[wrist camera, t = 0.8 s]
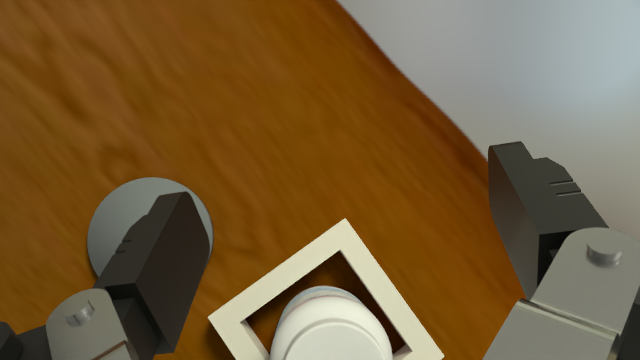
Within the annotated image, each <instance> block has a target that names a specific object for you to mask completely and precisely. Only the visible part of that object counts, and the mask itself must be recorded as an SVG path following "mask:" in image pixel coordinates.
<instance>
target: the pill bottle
mask: <svg viewBox="0 0 640 360" xmlns="http://www.w3.org/2000/svg"><path fill="white" fill-rule="evenodd" d="M270 360H393V356H392V349H391V345H390V342H389V339H388V336H387V334H386V332H385V330H384V328H383V327H382V325H381V324H380V322H379V321H378V319H377V318H376V317H375V316H374V315H373V314H372V313H371V312H370V311H369V310H368V309H367V308H366V307H365V306H364V305H363V304H362V302H361V301H360V300H359V299H357V298H356V297H355V296H354V295H352V294H351V293H349V292H347V291H345V290H343V289H340V288H337V287H332V286H316V287H312V288H308V289H306V290H304V291H302V292H300V293H299V294H297V295H296V296H295V297H294V298H293V299H292V300H291V301H290V302H289V303H288V305H287V306H286V307H285V309H284V311H283V313H282V315H281V318H280V320H279V323H278V326H277V329H276V333H275V336H274V339H273V342H272V347H271V353H270Z"/></svg>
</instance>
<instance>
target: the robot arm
mask: <svg viewBox="0 0 640 360" xmlns="http://www.w3.org/2000/svg"><path fill="white" fill-rule="evenodd" d="M488 172H489V202H490V208H491V213H492V217H493V220H494V223H495V225H496V227H497V230H498V232H499V234H500V237H501V239H502V241H503V244H504V246H505V248H506V251H507V253H508V256H509V258H510V260H511V263H512V265H513V267H514V270H515V272H516V274H517V277H518V279H519V281H520V284H521V286H522V288H523V291H524V293H525V296H526V298H527V300H526V299H520V300H519V301H517V303H516V304H515V305H514V307H513V309H512V310H511V312H510V314H509V315H508V317H507V319H506V320H505V322H504V324H503V325H502V327H501V329H500V331H499V332H498V334H497V336H496V337H495V339H494V341H493V342H492V344H491V346H490V347H489V349H488V351H487V353H486V354H485V356H484V358H483V359H482V360H640V241H638V240H637V239H635V238H634V237H632V236H630V235H628V234H626V233H623V232H621V231H618V230H614V229H609V227H608V226H607V225H606V223H605V222H604V220H603V219H602V218H601V216H600V215H599V214H598V212H596V210H595V209H594V207H593V206H592V204H591V203H590V202H589V200H588V199H587V198H586V196H585V195H584V194H583V193H581V190H580V188H579V187H578V186H577V184H576V183H575V182H573V179H572V178H571V176H570V175H569V174H568V172H567V171H566V169H565V168H564V167H563V166H561V165H559V164H557V163H556V162H554V161H552V160H550V159H548V158H547V157H546V158H539V159H533V158H532V157H531V155H530V153H529V152H528V150H527V149H526V147H525V146H524V144H523V143H522V142H521V141H519V142H512V143H506V144H499V145H492V146H489V149H488ZM209 254H210V242H209V237H208V234H207V231H206V229H205V227H204V224H203V222H202V220H201V217H200V215H199V212H198V210H197V208H196V205H195V203H194V201H193V198H192V196H191V195H190V194H189V193H188V192H187V191H183V192H177V193H170V194H164V195H159V196H158V197H157V199H156V200H155V202H154V204H153V206H152V207H151V209H150V211H149V212H148V214H147V215H143V216H142V217H141V218H140V219H139V220H138V221H137V222H136V223H135V224H133V225H132V226H131V227H130V228H129V230H128V231H127V233H126V235H125V236H124V238H123V239H122V243H121V244H119V246H118V247H117V249H116V251H115V254H114V255H112V257H111V259H110V260H109V262H108V263H107V265H106V267H105V268H104V270H103V272H102V273H101V275H100V276H99V278H98V280H97V281H96V283H95V284H94V286H93V288H92V289H88V290H85V291H82V292H79V293H77V294H75V295H73V296H71V297H69V298H68V299H66V300H65V301H63V302H62V303H61V304H60V305H59V306H58V307H57V308H56V309H55V310H54V311H53V312H52V313H51V315H50V316H49V318H48V320H47V323H46V325H44V326H41V327H38V328H35V329H33V330H30V331H27V332H24V333H21V334H19V335H16V334H15V332H14V331H13V330H12V329H11V327H10V326H9V325H8V324H7V323H5V322H0V360H153V357H154V355H155V354H164V353H174V350H175V348H176V345H177V342H178V340H179V337H180V334H181V331H182V329H183V326H184V323H185V320H186V318H187V315H188V312H189V310H190V307H191V304H192V301H193V299H194V296H195V293H196V290H197V288H198V285H199V282H200V280H201V277H202V274H203V271H204V269H205V266H206V263H207V260H208V258H209Z"/></svg>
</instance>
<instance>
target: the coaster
mask: <svg viewBox="0 0 640 360" xmlns="http://www.w3.org/2000/svg"><path fill="white" fill-rule="evenodd" d="M183 191H187V192H188V193H189V194H190V195H191V196H192V198H193V201H194V203H195V205H196V208H197V210H198V212H199V215H200V217H201V220H202V222H203V224H204V227H205V229H206V231H207V234H208V237H209V242H210V254H209V258H208V260H207V263H206V265H207V264H208V261H209V259H210V256H211V252H212V249H213V241H214V232H213V225H212V221H211V218H210V215H209V213H208V210H207V209H206V207H205V205H204V204H203V202H202V201H201V200H200V199H199V197H198V196H197V195H196V194H195V193H193V192H192V191H191V190H189V189H188V188H187V187H185V186H183V185H181V184H179V183H177V182H174V181H172V180H168V179H164V178H156V177H151V178H141V179H137V180H133V181H130V182H128V183H125V184H123V185H121V186H120V187H118V188H116V189H115V190H114V191H112V192H111V193H110V194H109V195H108V196H107V197H106V198H105V199H104V200H103V201H102V202H101V204H100V205H99V206H98V208H97V210H96V211H95V213H94V215H93V218H92V220H91V223H90V226H89V231H88V240H87V246H88V254H89V258H90V261H91V264H92V266H93V269H94V270H95V272H96V274H97V276H98V277H99V276H100V275H101V273H102V272H103V270H104V268H105V267H106V265H107V263H108V262H109V260H110V259H111V257H112V255H114V254H115V251H116V249H117V247H118V246H119V244H121V243H122V239H123V238H124V236H125V235H126V233H127V231H128V230H129V228H130V227H131V226H132V225H133V224H135V223H136V222H137V221H138V220H139V219H140V218H141V217H142V216H143V215H147V214H148V212H149V211H150V209H151V207H152V206H153V204H154V202H155V200H156V199H157V197H158V196H159V195H164V194H170V193H177V192H183ZM205 267H206V266H205Z"/></svg>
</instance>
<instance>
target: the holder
mask: <svg viewBox="0 0 640 360" xmlns="http://www.w3.org/2000/svg"><path fill="white" fill-rule="evenodd" d="M337 251H340V252H341V254H342V255H343V256H344V258H345V259H346V261H347V262H348V263H349V265H350V266H351V268H352V269H353V270H354V272H355V273H356V275H357V276H358V277H359V279H360V280H361V282H362V283H363V284H364V286H365V287H366V289H367V290H368V292H369V293H370V294H371V296H372V297H373V299H374V300H375V301H376V303H377V304H378V306H379V307H380V308H381V310H382V311H383V313H384V314H385V315H386V317H387V318H388V320H389V321H390V322H391V324H392V325H393V327H394V328H395V330H396V331H397V332H398V334H399V335H400V337H401V338H402V339H403V341H404V342H405V344H406V345H404V346H403V347H402V348H401V349H399V350H398V351H397V352H395V353H394V354H393V355H392V356H393V360H441V359H442V358H444V357H445V356H444V355H443V354H442V352H441V351H440V349H439V348H438V347H437V345H436V344H435V342H434V341H433V340H432V338H431V337H430V335H429V334H428V333H427V331H426V330H425V329H424V327H423V326H422V324H421V323H420V322H419V320H418V319H417V317H416V316H415V315H414V313H413V312H412V310H411V309H410V308H409V306H408V305H407V303H406V302H405V301H404V299H403V298H402V296H401V295H400V294H399V292H398V291H397V289H396V288H395V287H394V285H393V284H392V282H391V281H390V280H389V278H388V277H387V276H386V274H385V273H384V271H383V270H382V269H381V267H380V266H379V264H378V263H377V262H376V260H375V259H374V257H373V256H372V255H371V253H370V252H369V250H368V249H367V248H366V246H365V245H364V243H363V242H362V241H361V239H360V238H359V236H358V235H357V234H356V232H355V231H354V230H353V228H352V227H351V225H350V224H349V223H348V221H347V220H346V218H345V219H343V220H342V221H340V222H339V223H337V224H336V225H335V226H333V227H332V228H330V229H329V230H328V231H326V232H325V233H323V234H322V235H321V236H319V237H318V238H317V239H315V240H314V241H312V242H311V243H310V244H308V245H307V246H305V247H304V248H303V249H301V250H300V251H298V252H297V253H296V254H294V255H293V256H291V257H290V258H289V259H287V260H286V261H285V262H283V263H282V264H280V265H279V266H278V267H276V268H275V269H273V270H272V271H271V272H269V273H268V274H266V275H265V276H264V277H262V278H261V279H259V280H258V281H257V282H255V283H254V284H253V285H251V286H250V287H248V288H247V289H246V290H244V291H243V292H241V293H240V294H239V295H237V296H236V297H234V298H233V299H232V300H230V301H229V302H227V303H226V304H225V305H223V306H222V307H221V308H219V309H218V310H216V311H215V312H214V313H212V314H211V315H210V316H208V318H209V320H210V321H211V323H212V324H213V326H214V327H215V329H216V330H217V332H218V333H219V335H220V336H221V338H222V339H223V341H224V342H225V344H226V345H227V347H228V348H229V350H230V351H231V353H232V354H233V356H234V357H235V359H236V360H270V355H269V354H268V352H267V351H266V349H265V348H264V346H263V345H262V343H261V342H260V340H259V339H258V337H257V336H256V334H255V333H254V332H253V330H252V329H251V327H250V326H249V324H248V323H247V321H246V320H245V318H247V317H248V316H249V315H251V314H252V313H253V312H255V311H256V310H258V309H259V308H260V307H262V306H263V305H264V304H266V303H267V302H269V301H270V300H271V299H273V298H274V297H275V296H277V295H278V294H280V293H281V292H282V291H284V290H285V289H286V288H288V287H289V286H291V285H292V284H293V283H295V282H296V281H297V280H299V279H300V278H302V277H303V276H304V275H306V274H307V273H308V272H310V271H311V270H313V269H314V268H315V267H317V266H318V265H319V264H321V263H322V262H324V261H325V260H326V259H328V258H329V257H331V256H332V255H333V254H335V253H336V252H337Z"/></svg>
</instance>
